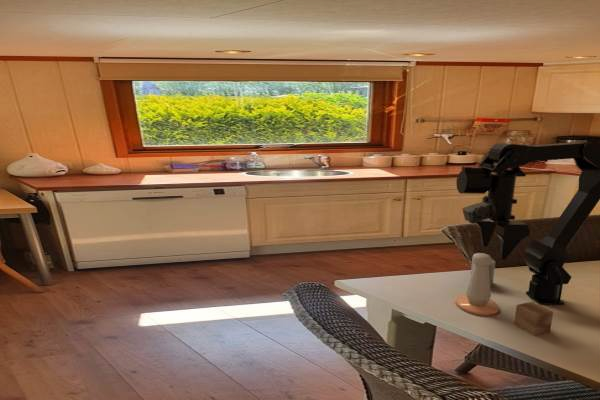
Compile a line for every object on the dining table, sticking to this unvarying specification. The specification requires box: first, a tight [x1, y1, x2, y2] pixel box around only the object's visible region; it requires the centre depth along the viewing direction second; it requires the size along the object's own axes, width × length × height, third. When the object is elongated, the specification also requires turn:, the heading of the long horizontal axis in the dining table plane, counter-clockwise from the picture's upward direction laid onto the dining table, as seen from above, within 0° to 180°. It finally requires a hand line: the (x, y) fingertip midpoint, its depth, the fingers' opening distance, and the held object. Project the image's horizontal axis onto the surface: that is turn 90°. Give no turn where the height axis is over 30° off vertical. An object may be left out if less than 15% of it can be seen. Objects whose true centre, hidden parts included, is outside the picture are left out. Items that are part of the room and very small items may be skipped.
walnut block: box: [513, 300, 554, 336], centre depth 82 cm, size 5×5×5 cm
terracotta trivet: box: [454, 293, 500, 317], centre depth 92 cm, size 10×10×1 cm
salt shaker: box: [465, 252, 493, 306], centre depth 91 cm, size 6×6×13 cm
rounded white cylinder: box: [470, 258, 496, 288], centre depth 105 cm, size 6×6×7 cm
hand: (493, 252), depth 93 cm, fingers open, 9 cm apart
